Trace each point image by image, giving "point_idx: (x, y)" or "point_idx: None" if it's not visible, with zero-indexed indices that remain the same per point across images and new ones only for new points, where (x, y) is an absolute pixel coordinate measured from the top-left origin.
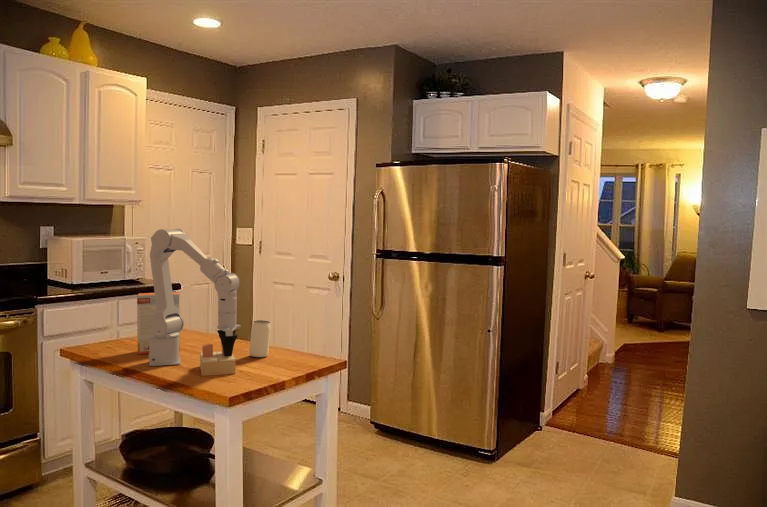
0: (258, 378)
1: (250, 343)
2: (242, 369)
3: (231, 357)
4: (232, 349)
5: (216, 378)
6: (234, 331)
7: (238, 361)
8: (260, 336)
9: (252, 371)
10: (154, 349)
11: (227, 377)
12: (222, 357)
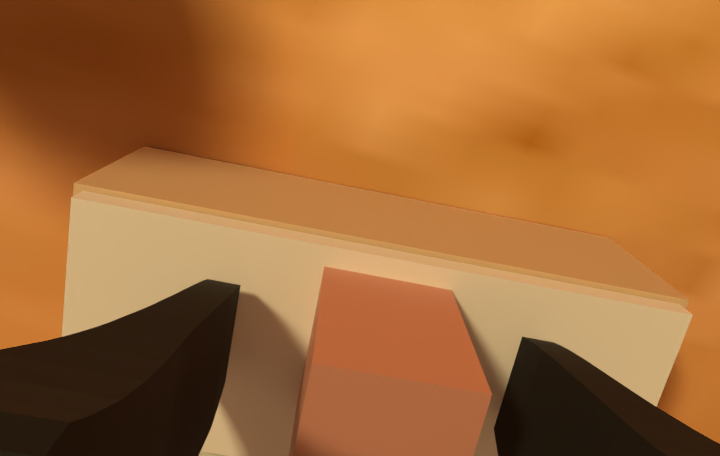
0: None
1: None
2: (458, 96)
3: (556, 331)
4: (630, 397)
5: None
6: (72, 453)
7: (6, 9)
8: None
9: (620, 5)
10: None
11: (702, 350)
12: (488, 445)
